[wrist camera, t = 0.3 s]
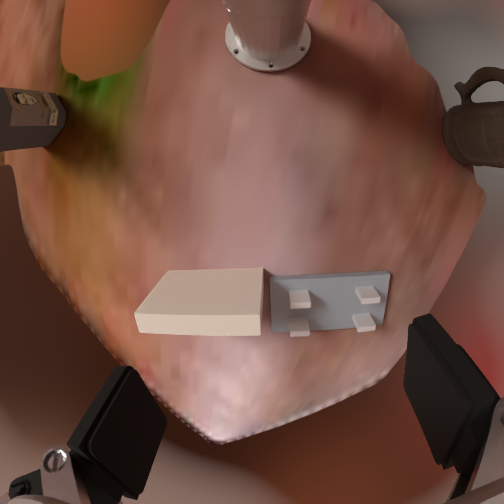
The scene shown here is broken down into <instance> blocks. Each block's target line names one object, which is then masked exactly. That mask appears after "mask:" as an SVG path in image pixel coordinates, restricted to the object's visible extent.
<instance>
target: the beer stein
mask: <svg viewBox="0 0 504 504" xmlns="http://www.w3.org/2000/svg"><path fill="white" fill-rule="evenodd" d="M489 81H499V82H501V83H503V84H504V69H499V68H495V67H483V68H481V69H478V70H477V71H476V72H475V73H474V74H473V75H472V76H471V78H470V79H469V80H468V81H467V83H466V84H463V83H461V82H458V83H456V84H455V86H454V87H455V88H456V90H457V91H458V92H459V94H460V96H461V100H462V103H461V105H457V106H453V107H452V108H450V109H449V111H448V112H447V113H446V115H445V117H444V121H443V137H444V141H445V144H446V147H447V149H448V151H449V152H450V154H451V155H452V157H453V158H454V159H455V160H457V161H458V162H459V163H461V164H464V165H475V166H491V167H498V168H504V101H498V102H483V103H474V102H472V101H471V95H472V93H473V92H474V91H475V90H476V89H477V88H478V87H480V86H481V85H483V84H484V83H486V82H489Z"/></svg>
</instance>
